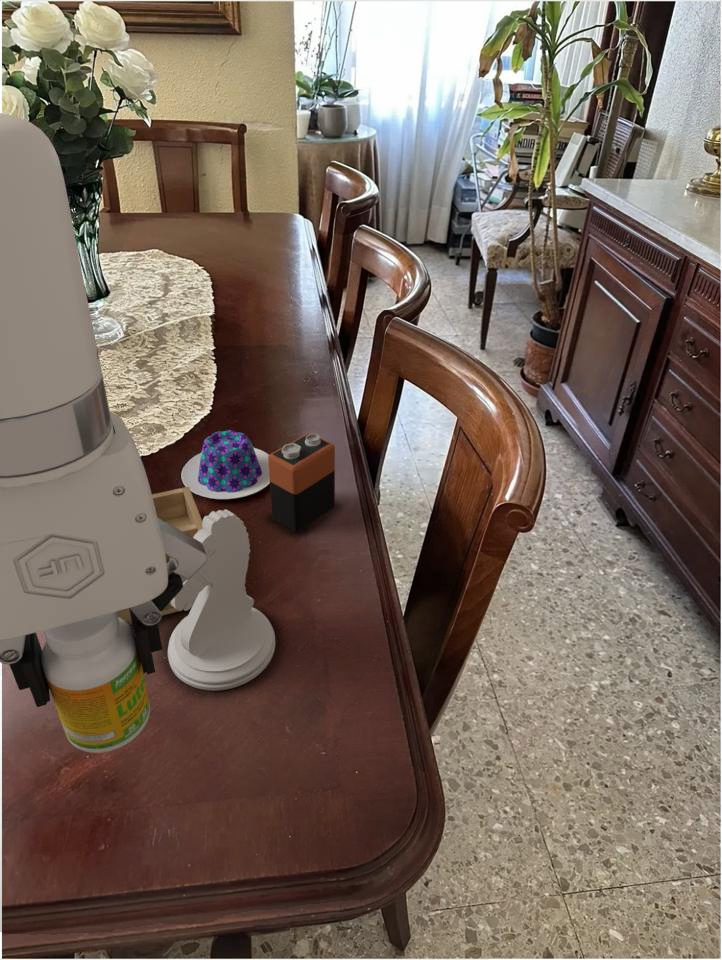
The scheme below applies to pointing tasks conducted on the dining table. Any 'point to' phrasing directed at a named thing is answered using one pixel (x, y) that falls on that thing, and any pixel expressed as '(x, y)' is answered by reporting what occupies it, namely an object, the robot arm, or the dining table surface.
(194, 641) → the chess piece
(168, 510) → the grid
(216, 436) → the pudding
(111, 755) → the dining table surface
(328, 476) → the battery
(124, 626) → the supplement bottle
